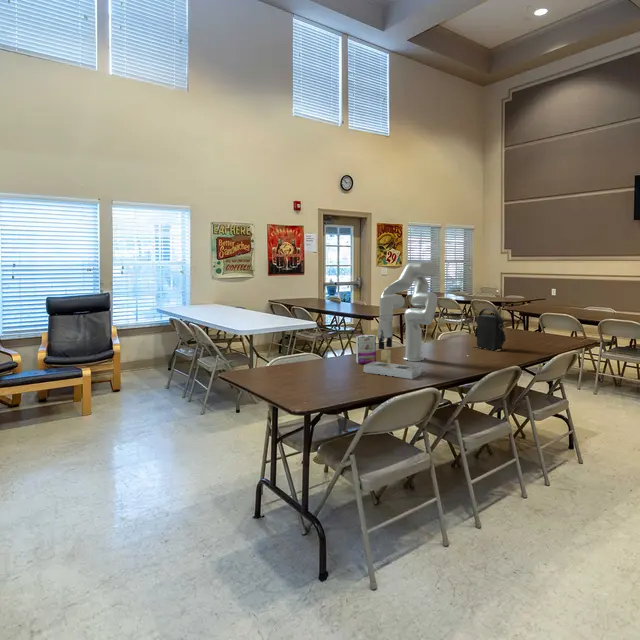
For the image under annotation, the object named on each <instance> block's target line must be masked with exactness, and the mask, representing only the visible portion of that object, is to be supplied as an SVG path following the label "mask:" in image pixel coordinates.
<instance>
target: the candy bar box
mask: <svg viewBox="0 0 640 640" xmlns="http://www.w3.org/2000/svg"><path fill="white" fill-rule="evenodd" d="M355 350H356V351H355V352H356V353H355V361H356V363H357V364H358V365H362V364H363V365H366V364H368V363H371V362H373V361H375V362H377V336H376V335H375V334H362V335H355Z"/></svg>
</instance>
